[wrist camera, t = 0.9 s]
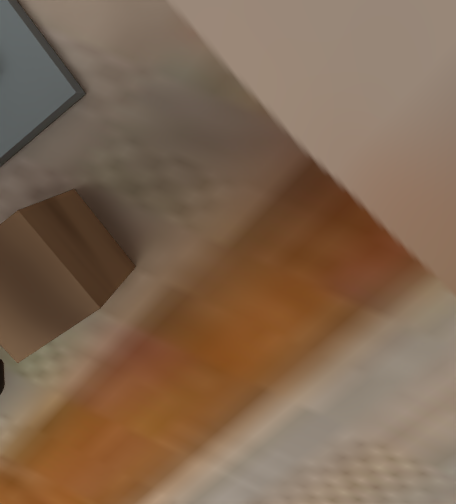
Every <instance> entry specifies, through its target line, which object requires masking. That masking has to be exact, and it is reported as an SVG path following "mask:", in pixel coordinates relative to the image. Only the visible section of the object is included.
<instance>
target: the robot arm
mask: <svg viewBox="0 0 456 504" xmlns="http://www.w3.org/2000/svg"><path fill="white" fill-rule="evenodd" d="M4 385H5V380H4V363H3V361H2V360H1V359H0V394H1V393H2V391H3V389H4Z"/></svg>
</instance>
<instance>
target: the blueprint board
mask: <svg viewBox="0 0 456 504" xmlns="http://www.w3.org/2000/svg"><path fill="white" fill-rule="evenodd" d="M85 94H86V93H85V92H84V91H83V89H82V88H81V87H80V85H79V84H78V83H77V81H76V80H75V79H74V77H73V76H72V75H71V73H70V72H69V70H68V69H67V68H66V66H65V65H64V64H63V62H62V61H61V60H60V58H59V57H58V56H57V54H56V53H55V52H54V50H53V49H52V48H51V46H50V45H49V43H48V42H47V41H46V39H45V38H44V37H43V35H42V34H41V33H40V31H39V30H38V29H37V27H36V26H35V25H34V23H33V22H32V21H31V19H30V18H29V16H28V15H27V14H26V12H25V11H24V10H23V8H22V7H21V6H20V4H19V3H18V2H17V0H0V166H1V165H3V164H4V163H5V162H6V161H7V160H8V159H10V158H11V157H12V156H13V155H14V154H16V153H17V152H18V151H19V150H20V149H21V148H23V147H24V146H25V145H26V144H27V143H28V142H30V141H31V140H32V139H33V138H34V137H35V136H37V135H38V134H39V133H40V132H41V131H43V130H44V129H45V128H46V127H47V126H48V125H50V124H51V123H52V122H53V121H54V120H55V119H57V118H58V117H59V116H60V115H61V114H62V113H64V112H65V111H66V110H67V109H68V108H70V107H71V106H72V105H73V104H74V103H75V102H77V101H78V100H79V99H80V98H81V97H82V96H84V95H85Z"/></svg>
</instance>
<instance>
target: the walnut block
mask: <svg viewBox="0 0 456 504" xmlns="http://www.w3.org/2000/svg"><path fill="white" fill-rule="evenodd" d="M135 267H136V266H135V265H134V264H133V263H132V261H131V260H130V259H129V258H128V256H127V255H126V254H125V253H124V251H123V250H122V249H121V248H120V246H119V245H118V244H117V243H116V241H115V240H114V239H113V237H112V236H111V235H110V234H109V232H108V231H107V230H106V229H105V227H104V226H103V225H102V224H101V222H100V221H99V220H98V219H97V217H96V216H95V215H94V213H93V212H92V211H91V210H90V208H89V207H88V206H87V205H86V203H85V202H84V201H83V200H82V198H81V197H80V196H79V195H78V193H77V192H76V191H75V190H74V189H73V190H70V191H68V192H65V193H62V194H60V195H57V196H54V197H52V198H49V199H46V200H44V201H41V202H39V203H36V204H33V205H31V206H28V207H25V208H23V209H20V210H18V211H16V212H15V213H14V214H13V215H11V216H10V217H9V218H8V219H6V220H5V221H4V222H3V223H1V224H0V345H1V346H2V347H3V348H4V349H5V350H6V351H7V352H8V353H9V355H10V356H11V357H12V358H13V359H14V360H15V361H16V362H17V363H19V362H20V361H22V360H23V359H25V358H26V357H28V356H29V355H31V354H32V353H34V352H35V351H37V350H38V349H40V348H41V347H43V346H44V345H46V344H47V343H49V342H50V341H52V340H53V339H55V338H56V337H58V336H59V335H61V334H62V333H64V332H65V331H67V330H68V329H70V328H71V327H73V326H74V325H76V324H77V323H79V322H80V321H82V320H83V319H85V318H86V317H88V316H89V315H91V314H92V313H94V312H95V311H97V310H98V309H100V308H101V307H102V306H103V305H104V303H105V302H106V301H107V300H108V299H109V298H110V296H111V295H112V294H113V293H114V292H115V291H116V289H117V288H118V287H119V286H120V285H121V284H122V282H123V281H124V280H125V279H126V278H127V277H128V275H129V274H130V273H131V272H132V271H133V270H134V268H135Z"/></svg>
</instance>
